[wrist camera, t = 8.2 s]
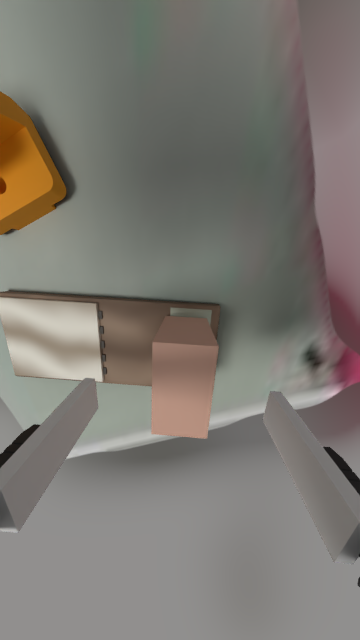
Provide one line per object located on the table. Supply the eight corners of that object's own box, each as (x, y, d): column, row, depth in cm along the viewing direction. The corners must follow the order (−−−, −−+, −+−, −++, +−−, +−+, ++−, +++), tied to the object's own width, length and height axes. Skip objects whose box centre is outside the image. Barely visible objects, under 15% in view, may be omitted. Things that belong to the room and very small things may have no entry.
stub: (165, 315, 20) (152, 341, 13) (206, 318, 20) (218, 346, 12) (163, 379, 23) (151, 433, 15) (200, 382, 23) (206, 438, 15)
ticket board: (7, 291, 22) (-10, 292, 20) (218, 304, 21) (221, 307, 19) (25, 370, 25) (12, 378, 24) (208, 383, 25) (210, 393, 23)
